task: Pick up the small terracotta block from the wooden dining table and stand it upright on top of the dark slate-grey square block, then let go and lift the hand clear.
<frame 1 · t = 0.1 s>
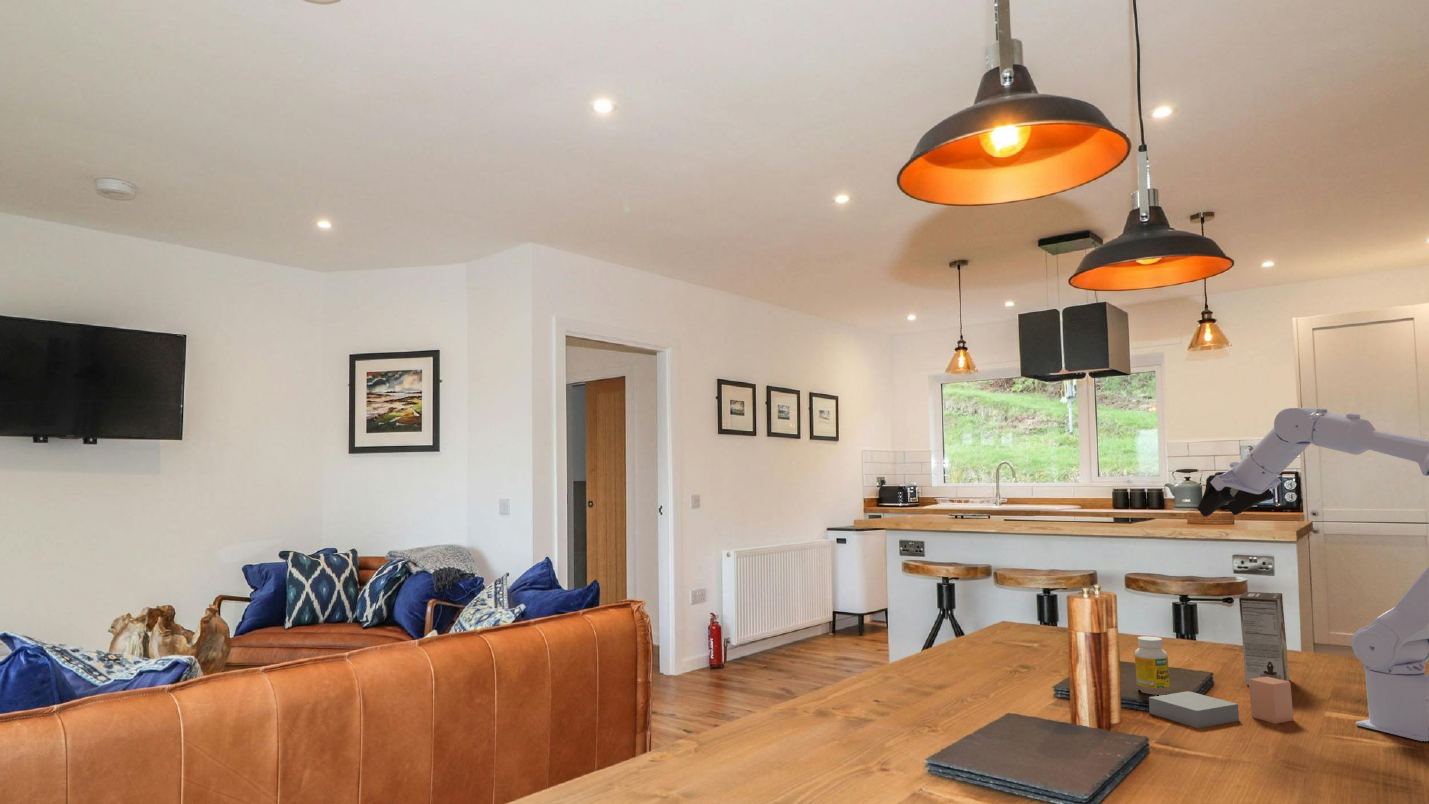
hand: (1216, 511, 157), 32 cm above the table, tool tilted 50°, fingers open, 7 cm apart
slate block: (1193, 719, 138), on the table
supplement bottle: (1153, 693, 153), on the table
coffee box: (1268, 683, 158), on the table
terracotta block: (1272, 718, 136), on the table
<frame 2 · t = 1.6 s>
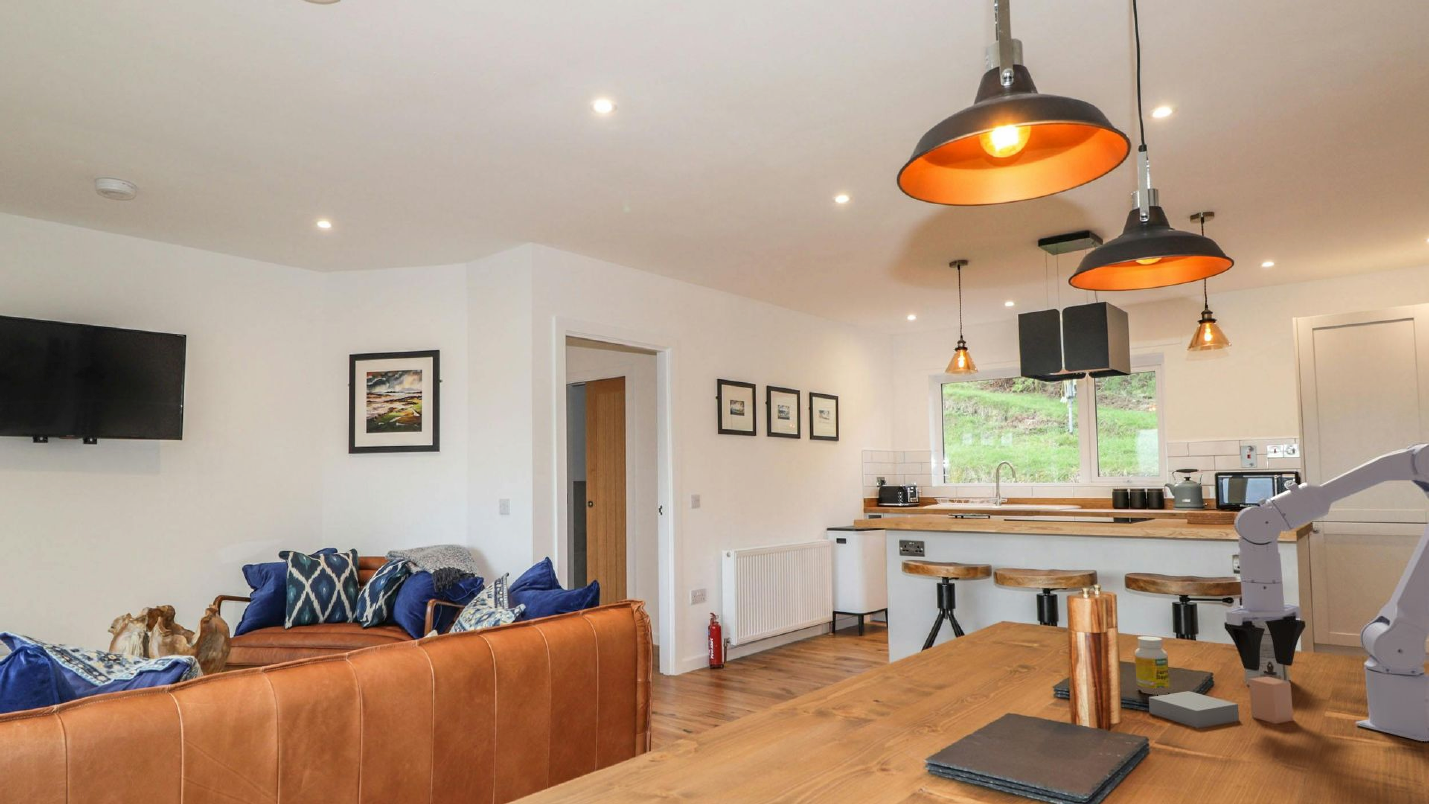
hand: (1268, 667, 136), 8 cm above the table, tool pointing down, fingers open, 7 cm apart
nothing on the table moved.
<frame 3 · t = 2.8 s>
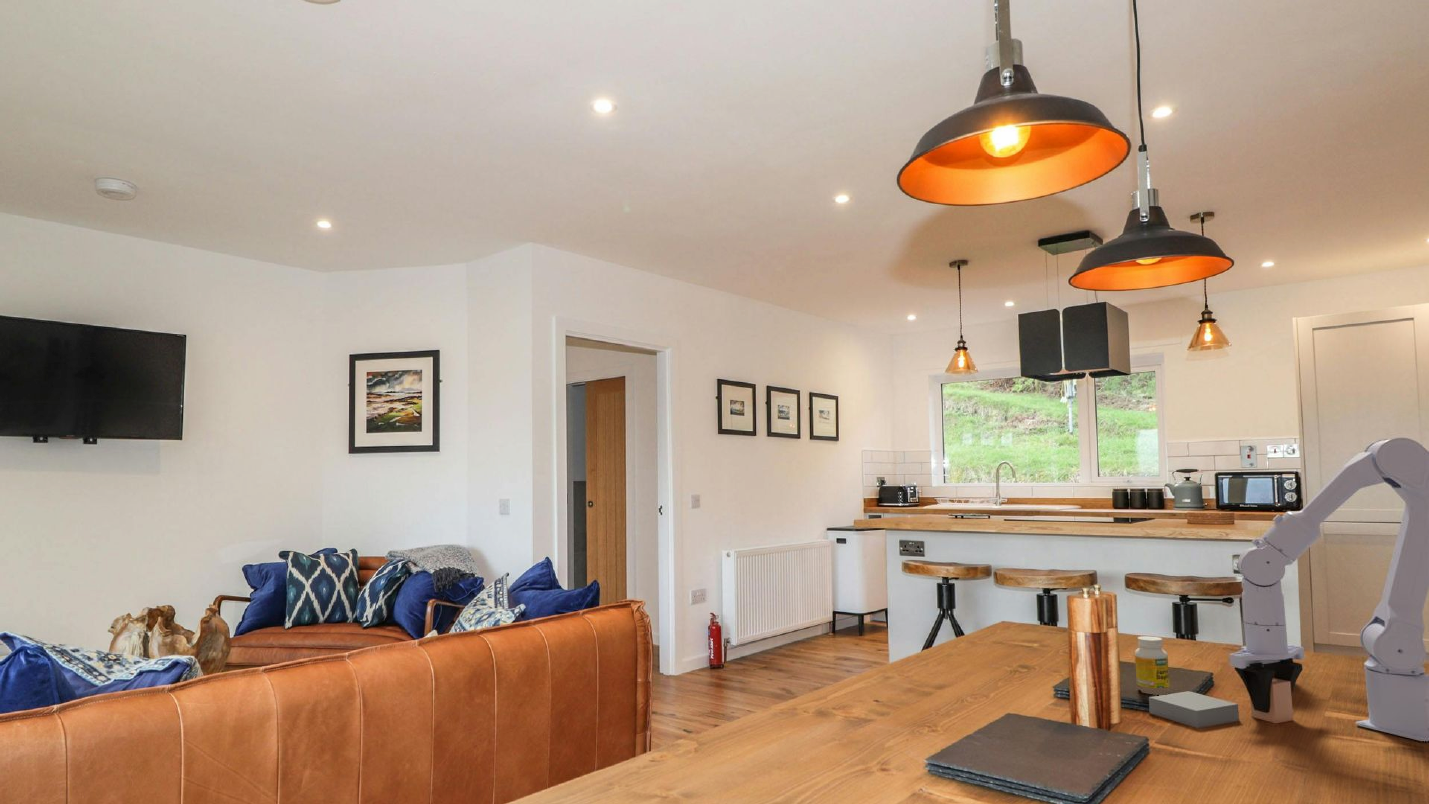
hand: (1271, 709, 136), 1 cm above the table, tool pointing down, fingers closed on terracotta block, 4 cm apart
terracotta block: (1272, 718, 136), on the table, touching gripper
everything else where it was.
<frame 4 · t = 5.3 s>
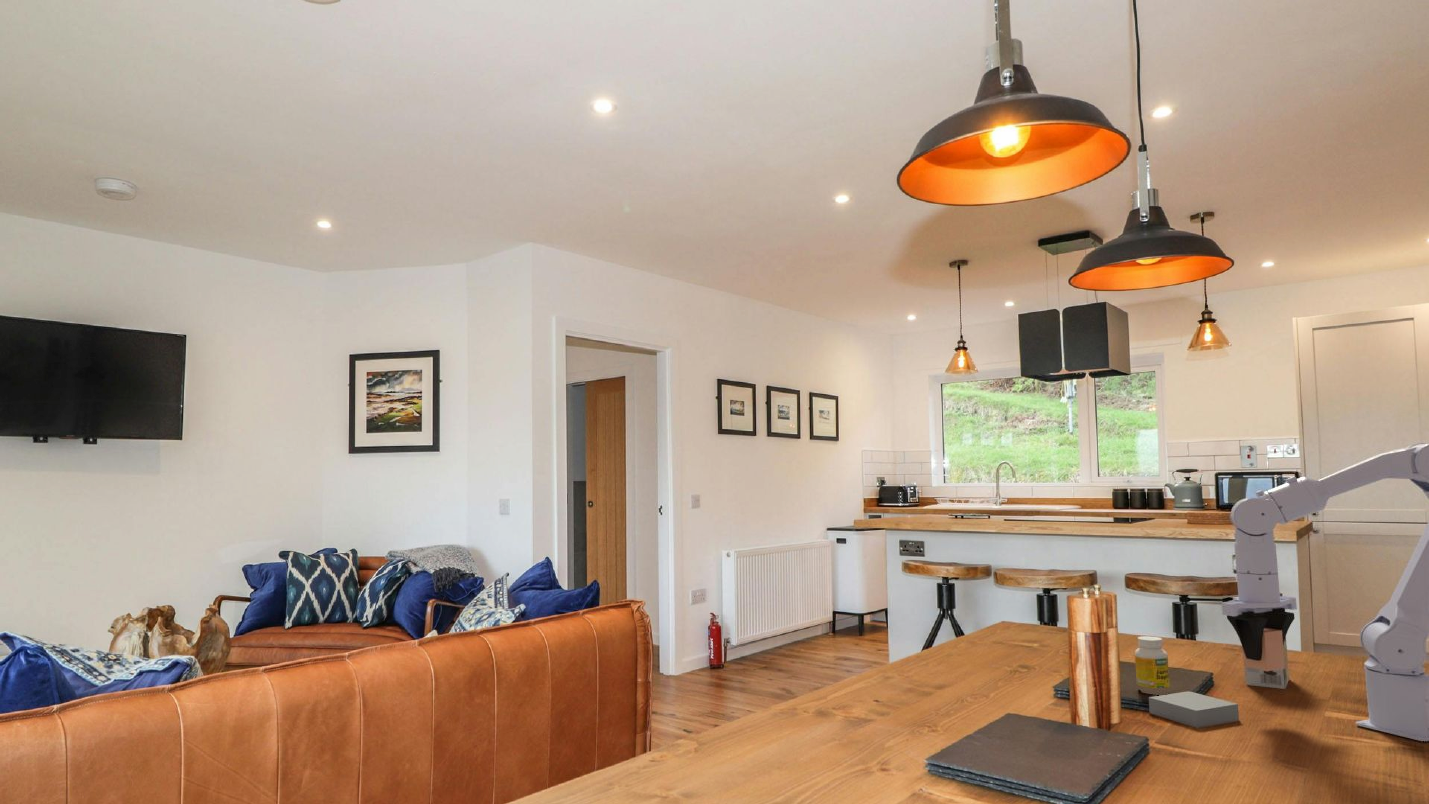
hand: (1263, 658, 137), 9 cm above the table, tool pointing down, fingers closed on terracotta block, 4 cm apart
terracotta block: (1264, 667, 136), point 8 cm above the table, touching gripper
everything else where it was.
when the fingers open (5 cm above the table, at t = 7.6 s): terracotta block drops 1 cm, point 3 cm above the table.
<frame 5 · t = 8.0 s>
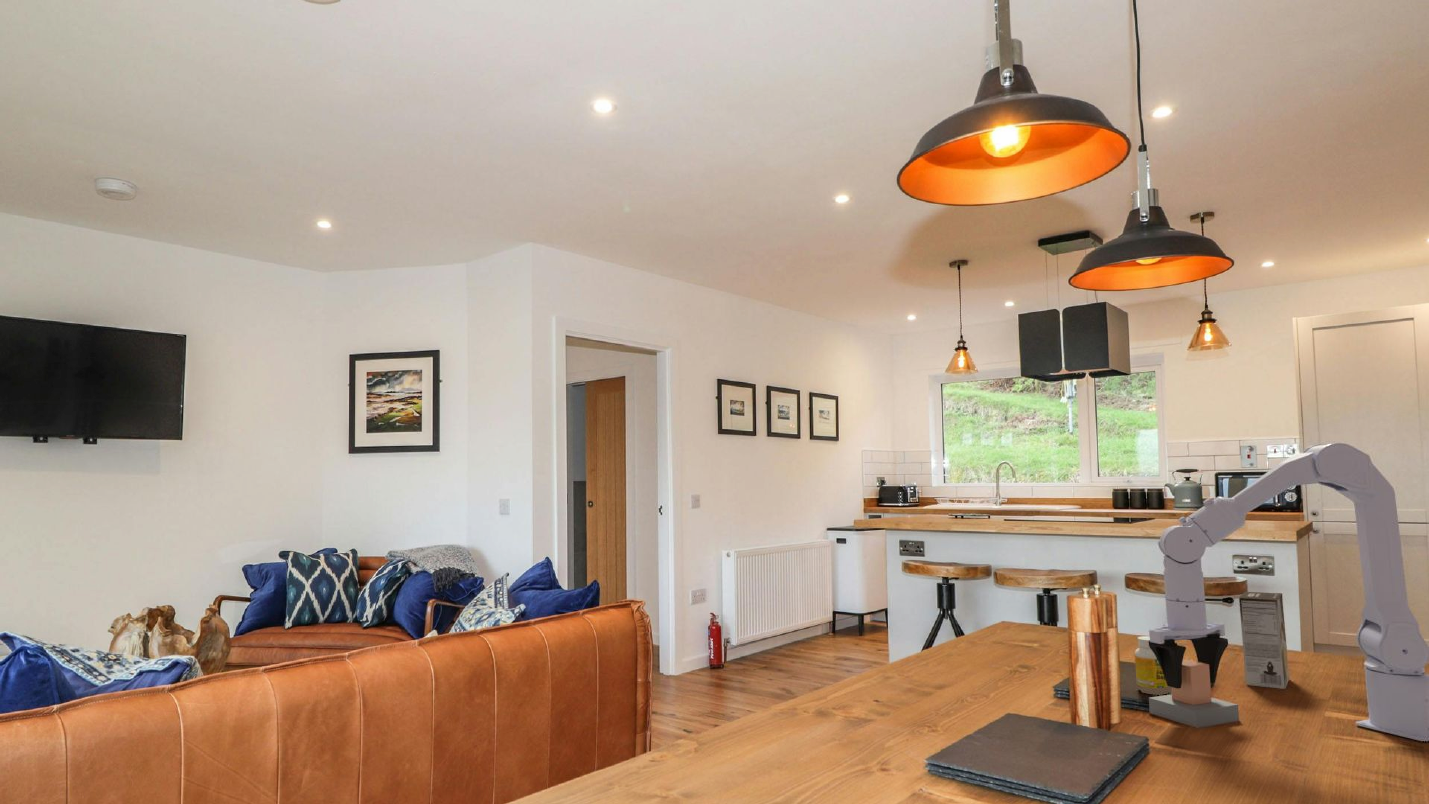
hand: (1191, 684, 138), 5 cm above the table, tool pointing down, fingers open, 7 cm apart
terracotta block: (1191, 700, 138), point 3 cm above the table
everything else where it was.
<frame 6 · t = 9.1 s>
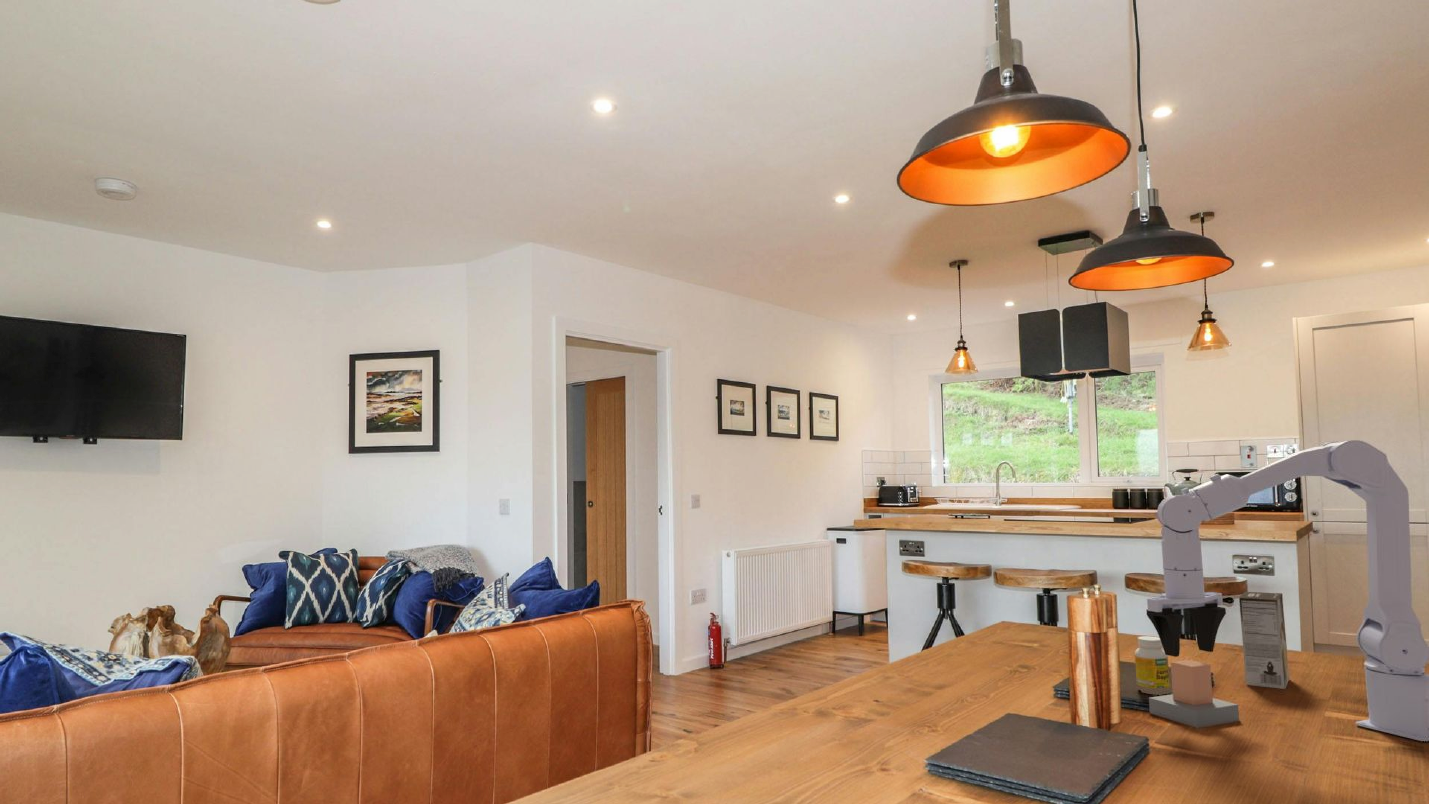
hand: (1189, 653, 138), 10 cm above the table, tool pointing down, fingers open, 7 cm apart
slate block: (1194, 720, 138), on the table, touching terracotta block
terracotta block: (1192, 701, 138), point 2 cm above the table, touching slate block
everything else where it was.
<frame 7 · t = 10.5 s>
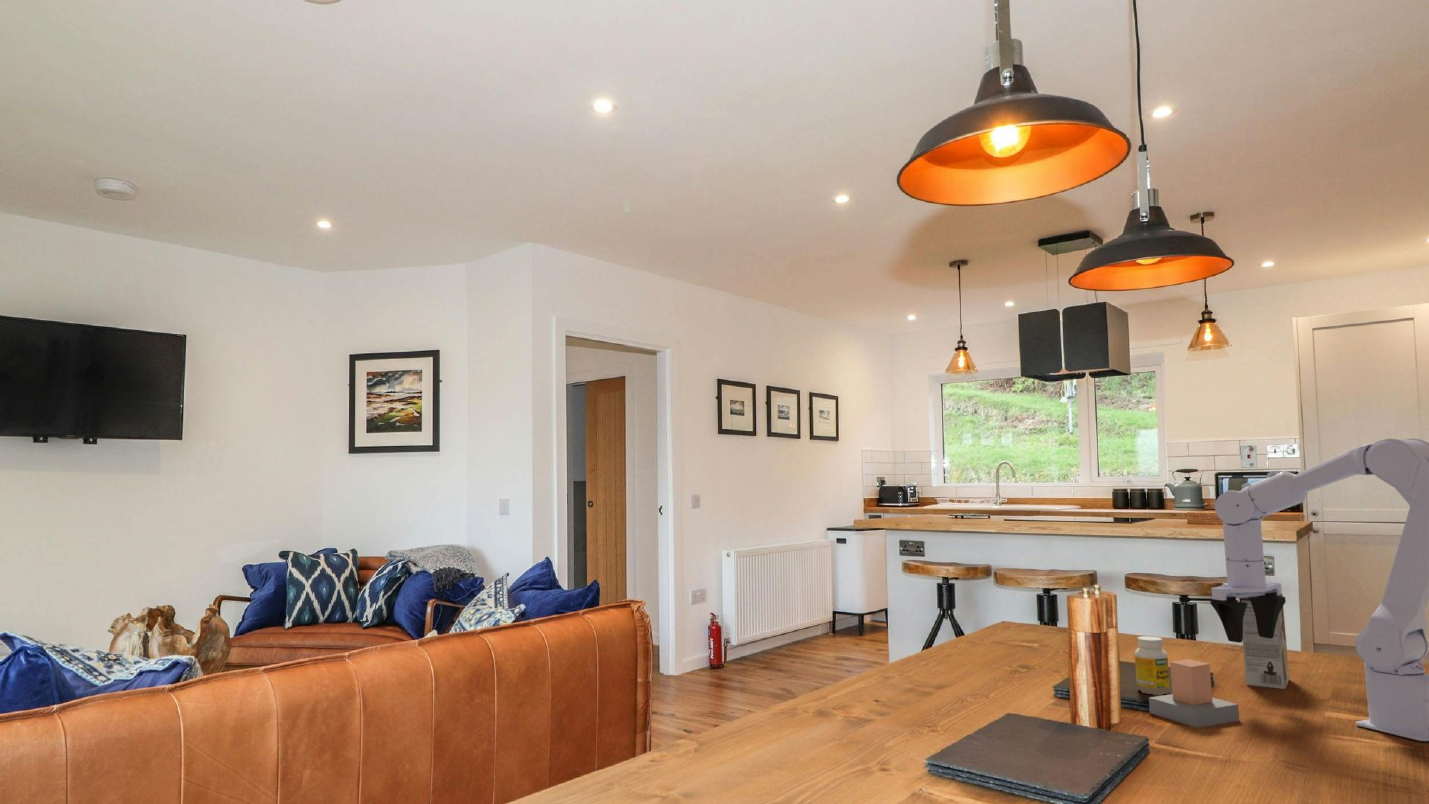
hand: (1250, 639, 146), 10 cm above the table, tool pointing down, fingers open, 7 cm apart
slate block: (1194, 719, 138), on the table
terracotta block: (1192, 700, 138), point 3 cm above the table
everything else where it was.
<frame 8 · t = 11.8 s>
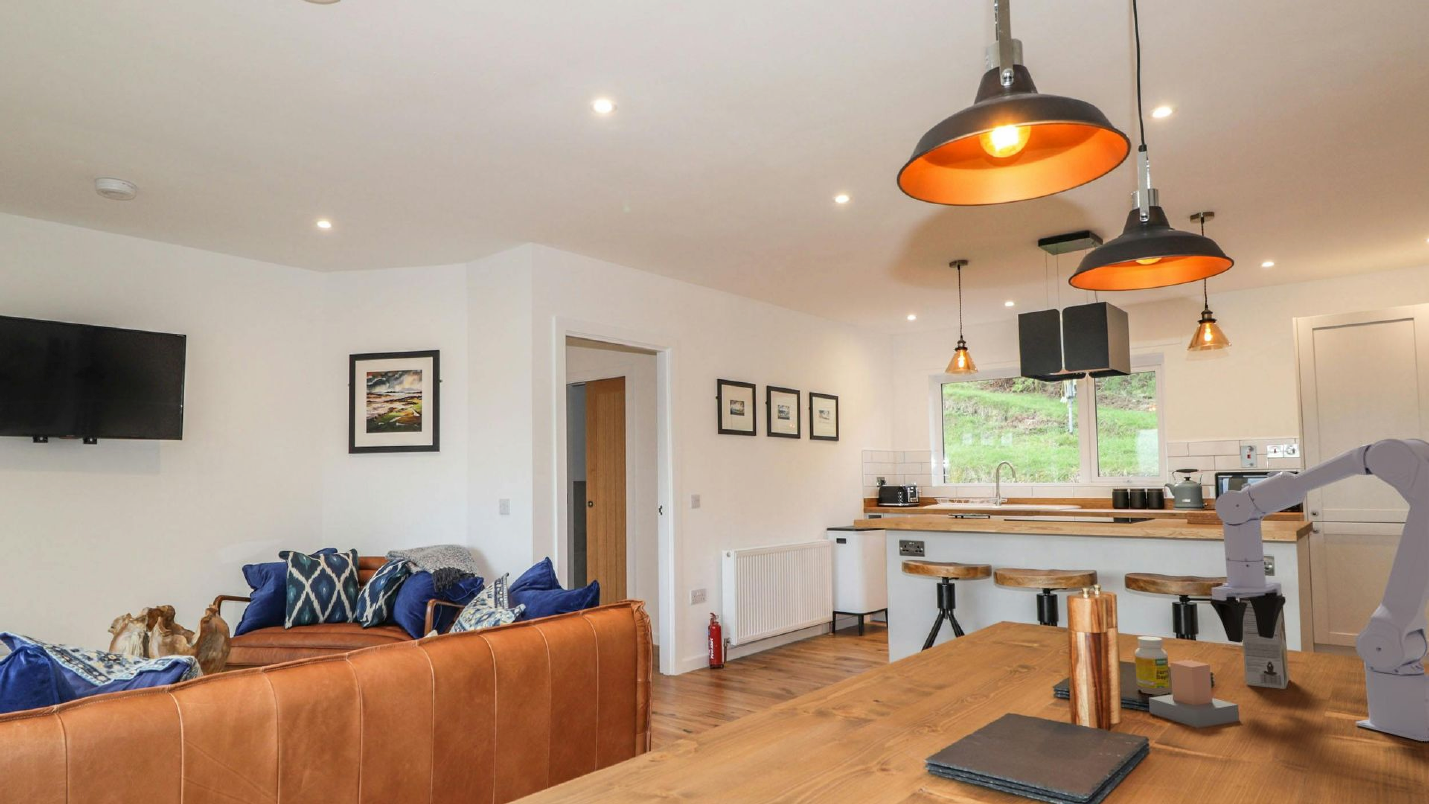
hand: (1250, 639, 146), 10 cm above the table, tool pointing down, fingers open, 7 cm apart
slate block: (1194, 720, 138), on the table, touching terracotta block
terracotta block: (1192, 701, 138), point 2 cm above the table, touching slate block
everything else where it was.
at the end: terracotta block 0.0 cm off-centre on the slate block, point 3.0 cm above the slate block's base; terracotta block tilted 0°; the gripper is holding nothing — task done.
